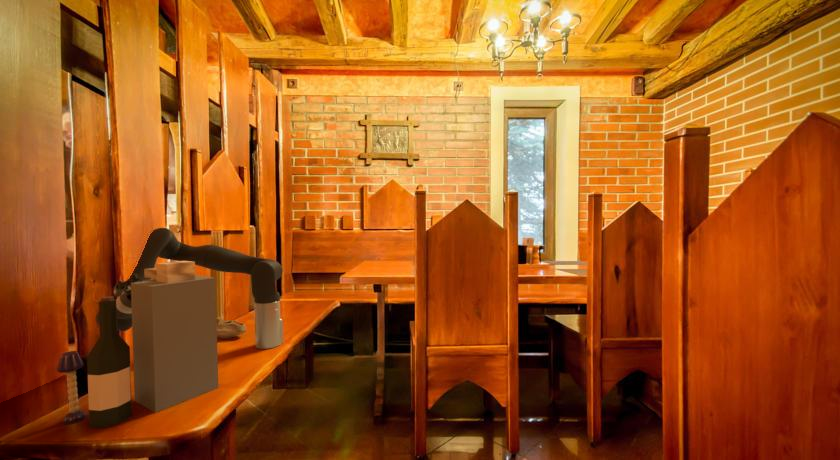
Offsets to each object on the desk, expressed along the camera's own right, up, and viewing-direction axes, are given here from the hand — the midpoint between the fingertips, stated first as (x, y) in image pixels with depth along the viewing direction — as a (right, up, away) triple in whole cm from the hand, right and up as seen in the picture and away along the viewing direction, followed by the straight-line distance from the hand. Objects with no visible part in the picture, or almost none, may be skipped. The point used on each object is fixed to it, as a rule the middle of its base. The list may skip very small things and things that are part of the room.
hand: (153, 274), depth 108 cm
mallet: (+6, -1, -4) cm, 7 cm away
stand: (+11, -33, -6) cm, 35 cm away
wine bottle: (+3, -33, -19) cm, 38 cm away
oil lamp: (-1, -32, +46) cm, 57 cm away
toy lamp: (-6, -34, -19) cm, 39 cm away
